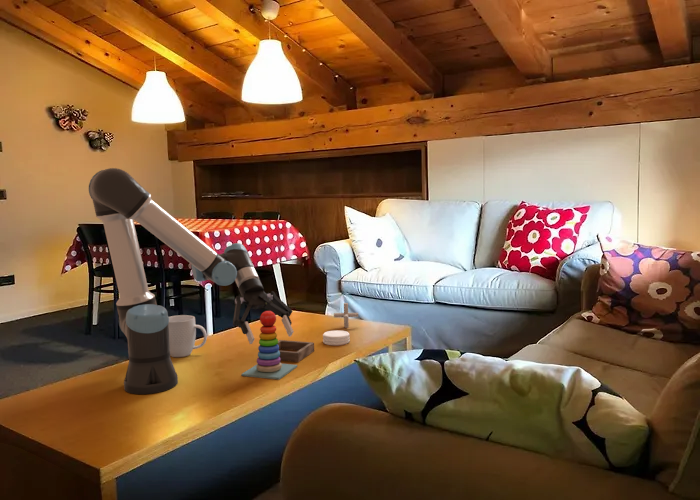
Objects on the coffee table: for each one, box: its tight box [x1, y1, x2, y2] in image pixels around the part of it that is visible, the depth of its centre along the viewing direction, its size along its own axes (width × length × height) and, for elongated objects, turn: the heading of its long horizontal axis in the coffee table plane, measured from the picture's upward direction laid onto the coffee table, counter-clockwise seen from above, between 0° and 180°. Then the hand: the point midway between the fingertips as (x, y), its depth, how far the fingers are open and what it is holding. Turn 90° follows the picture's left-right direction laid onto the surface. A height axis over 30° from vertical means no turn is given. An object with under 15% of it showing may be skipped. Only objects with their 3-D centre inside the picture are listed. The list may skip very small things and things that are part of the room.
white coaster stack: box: [322, 329, 351, 346], centre depth 217 cm, size 10×10×4 cm
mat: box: [241, 362, 298, 380], centre depth 184 cm, size 13×13×1 cm
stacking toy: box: [256, 310, 283, 372], centre depth 183 cm, size 8×8×19 cm
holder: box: [278, 339, 315, 363], centre depth 201 cm, size 13×13×3 cm
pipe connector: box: [333, 302, 359, 329], centre depth 238 cm, size 10×10×10 cm
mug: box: [168, 314, 208, 358], centre depth 204 cm, size 15×11×13 cm
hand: (272, 337), depth 181 cm, fingers open, 13 cm apart
